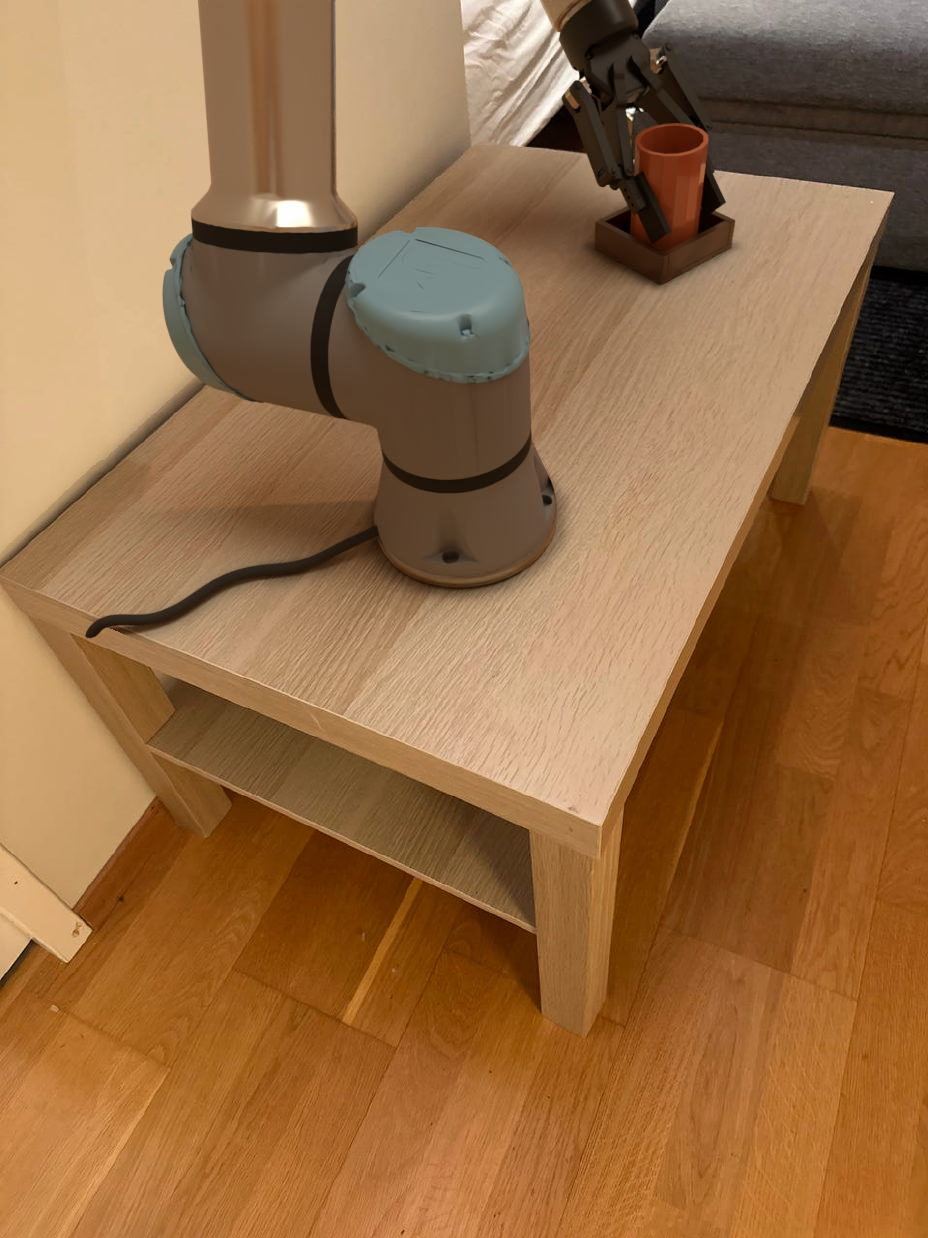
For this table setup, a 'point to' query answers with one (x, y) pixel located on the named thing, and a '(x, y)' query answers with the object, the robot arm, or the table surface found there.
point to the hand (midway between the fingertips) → (688, 222)
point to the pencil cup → (672, 178)
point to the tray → (653, 262)
